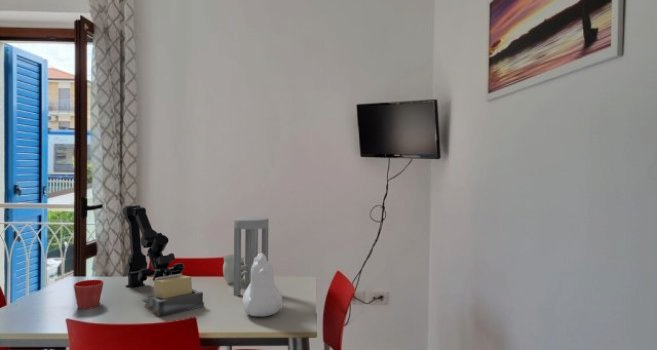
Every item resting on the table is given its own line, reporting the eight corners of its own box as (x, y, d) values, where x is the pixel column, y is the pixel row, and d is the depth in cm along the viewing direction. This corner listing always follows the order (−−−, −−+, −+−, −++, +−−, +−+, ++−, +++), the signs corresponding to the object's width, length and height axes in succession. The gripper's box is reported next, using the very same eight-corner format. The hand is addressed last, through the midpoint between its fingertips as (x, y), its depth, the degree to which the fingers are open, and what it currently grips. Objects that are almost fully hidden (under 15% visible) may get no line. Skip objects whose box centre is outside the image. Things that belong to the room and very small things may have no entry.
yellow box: (153, 301, 173) (153, 277, 173) (181, 295, 182) (181, 272, 182) (163, 307, 166) (164, 282, 166) (192, 300, 175) (192, 277, 175)
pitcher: (250, 277, 222) (250, 251, 222) (239, 287, 204) (239, 259, 204) (230, 276, 223) (230, 251, 223) (217, 286, 205) (217, 258, 205)
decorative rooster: (280, 322, 158) (281, 256, 158) (238, 322, 158) (239, 256, 157) (284, 301, 183) (284, 244, 183) (248, 301, 182) (248, 244, 182)
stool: (227, 295, 190) (227, 219, 189) (246, 287, 204) (246, 215, 204) (256, 300, 184) (257, 221, 184) (273, 290, 198) (274, 217, 198)
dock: (131, 302, 182) (131, 286, 182) (173, 293, 196) (173, 278, 195) (158, 319, 162) (158, 301, 162) (203, 308, 175) (203, 292, 175)
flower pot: (109, 303, 177) (109, 280, 177) (86, 311, 167) (87, 287, 167) (90, 300, 181) (90, 278, 181) (67, 308, 170) (67, 284, 170)
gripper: (140, 250, 175) (150, 282, 167) (182, 245, 188) (194, 274, 181) (133, 265, 181) (142, 297, 173) (174, 259, 194) (185, 288, 186)
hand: (167, 288), depth 178 cm, fingers closed
